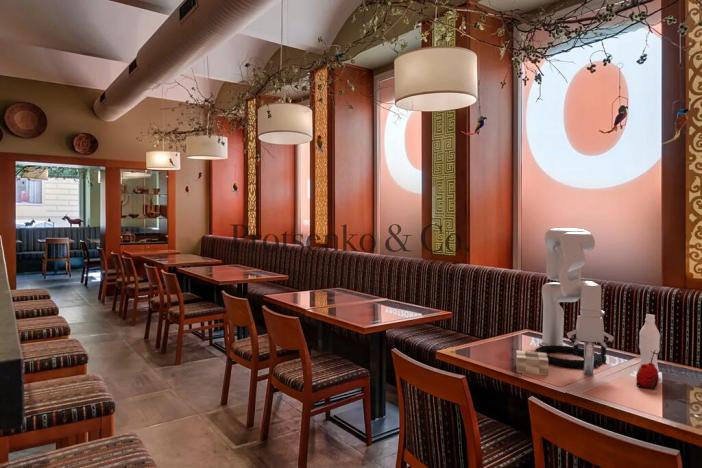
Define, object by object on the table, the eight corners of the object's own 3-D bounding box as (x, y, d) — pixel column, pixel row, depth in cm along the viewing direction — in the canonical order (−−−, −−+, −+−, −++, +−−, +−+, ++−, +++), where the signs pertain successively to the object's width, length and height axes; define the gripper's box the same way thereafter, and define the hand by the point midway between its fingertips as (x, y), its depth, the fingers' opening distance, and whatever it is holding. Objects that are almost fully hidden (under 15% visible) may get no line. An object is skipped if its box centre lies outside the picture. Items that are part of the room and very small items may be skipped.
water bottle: (635, 375, 196) (637, 314, 195) (641, 371, 200) (643, 312, 199) (655, 379, 190) (657, 317, 189) (661, 376, 195) (663, 315, 194)
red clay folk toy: (646, 382, 187) (647, 344, 186) (663, 389, 180) (664, 349, 180) (631, 384, 184) (632, 346, 184) (648, 391, 178) (649, 351, 177)
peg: (582, 372, 199) (583, 338, 198) (592, 373, 198) (593, 339, 197) (584, 374, 195) (585, 340, 195) (594, 375, 194) (595, 341, 194)
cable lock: (529, 342, 233) (596, 346, 227) (529, 350, 233) (596, 354, 227) (540, 358, 205) (616, 363, 199) (539, 367, 206) (615, 372, 200)
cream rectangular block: (516, 363, 209) (516, 350, 209) (545, 366, 205) (546, 352, 205) (516, 372, 198) (517, 357, 197) (548, 375, 194) (548, 360, 194)
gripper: (612, 313, 196) (611, 355, 197) (566, 310, 202) (565, 351, 202) (616, 316, 189) (615, 359, 190) (568, 313, 195) (567, 355, 195)
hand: (589, 355), depth 196 cm, fingers open, 9 cm apart
